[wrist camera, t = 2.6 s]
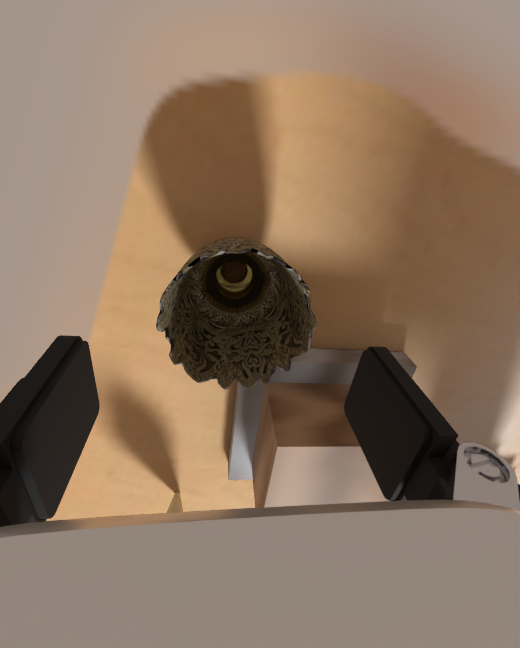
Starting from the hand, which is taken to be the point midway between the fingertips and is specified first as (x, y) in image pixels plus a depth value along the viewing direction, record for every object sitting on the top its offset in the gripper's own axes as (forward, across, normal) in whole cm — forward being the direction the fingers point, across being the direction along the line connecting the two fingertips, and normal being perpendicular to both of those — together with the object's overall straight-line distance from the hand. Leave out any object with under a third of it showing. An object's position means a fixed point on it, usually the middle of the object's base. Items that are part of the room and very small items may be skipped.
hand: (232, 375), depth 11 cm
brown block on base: (+11, -9, +14) cm, 20 cm away
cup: (+12, -1, +1) cm, 12 cm away
